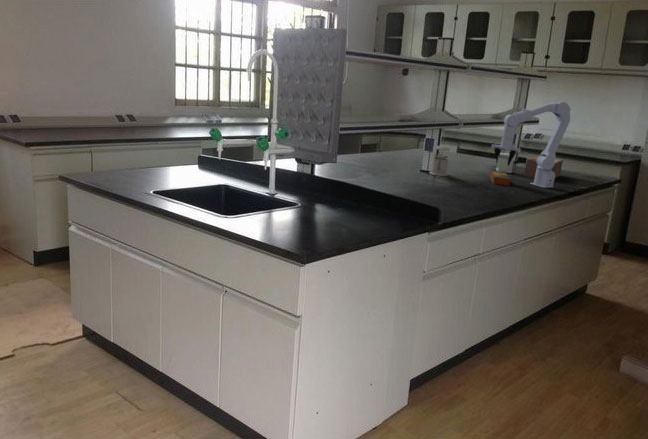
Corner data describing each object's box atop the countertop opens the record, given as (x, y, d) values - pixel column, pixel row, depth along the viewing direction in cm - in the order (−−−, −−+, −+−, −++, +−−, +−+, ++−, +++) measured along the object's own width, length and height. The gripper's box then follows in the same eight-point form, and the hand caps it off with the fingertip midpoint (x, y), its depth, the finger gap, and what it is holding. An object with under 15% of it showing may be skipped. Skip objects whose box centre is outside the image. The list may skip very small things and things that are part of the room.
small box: (509, 171, 340) (512, 154, 337) (511, 173, 334) (514, 155, 332) (495, 170, 340) (498, 152, 337) (497, 171, 335) (500, 153, 332)
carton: (505, 180, 311) (506, 173, 310) (509, 186, 296) (511, 178, 294) (489, 178, 312) (491, 170, 311) (492, 184, 297) (494, 176, 296)
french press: (448, 173, 312) (455, 127, 305) (446, 177, 301) (454, 129, 295) (430, 171, 314) (437, 125, 308) (427, 174, 304) (435, 127, 297)
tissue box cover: (549, 181, 323) (553, 163, 320) (523, 176, 330) (527, 159, 327) (559, 176, 344) (563, 159, 341) (534, 171, 351) (538, 155, 348)
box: (508, 167, 304) (510, 156, 302) (506, 169, 299) (508, 157, 298) (498, 165, 306) (500, 154, 305) (496, 167, 302) (498, 156, 300)
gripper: (523, 139, 298) (518, 165, 302) (495, 135, 305) (490, 160, 309) (520, 140, 292) (515, 167, 296) (492, 136, 299) (487, 162, 303)
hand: (502, 164), depth 302 cm, fingers closed on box, 5 cm apart
